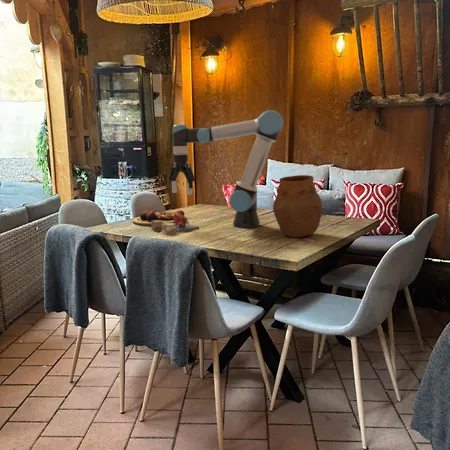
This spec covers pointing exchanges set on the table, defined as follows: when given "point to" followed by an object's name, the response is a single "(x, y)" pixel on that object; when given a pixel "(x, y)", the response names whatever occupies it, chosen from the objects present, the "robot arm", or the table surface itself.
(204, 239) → the table surface
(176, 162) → the robot arm
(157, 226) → the walnut block
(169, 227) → the beech block
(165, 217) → the wooden plate with food
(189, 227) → the slate mat
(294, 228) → the pot
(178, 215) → the flower
